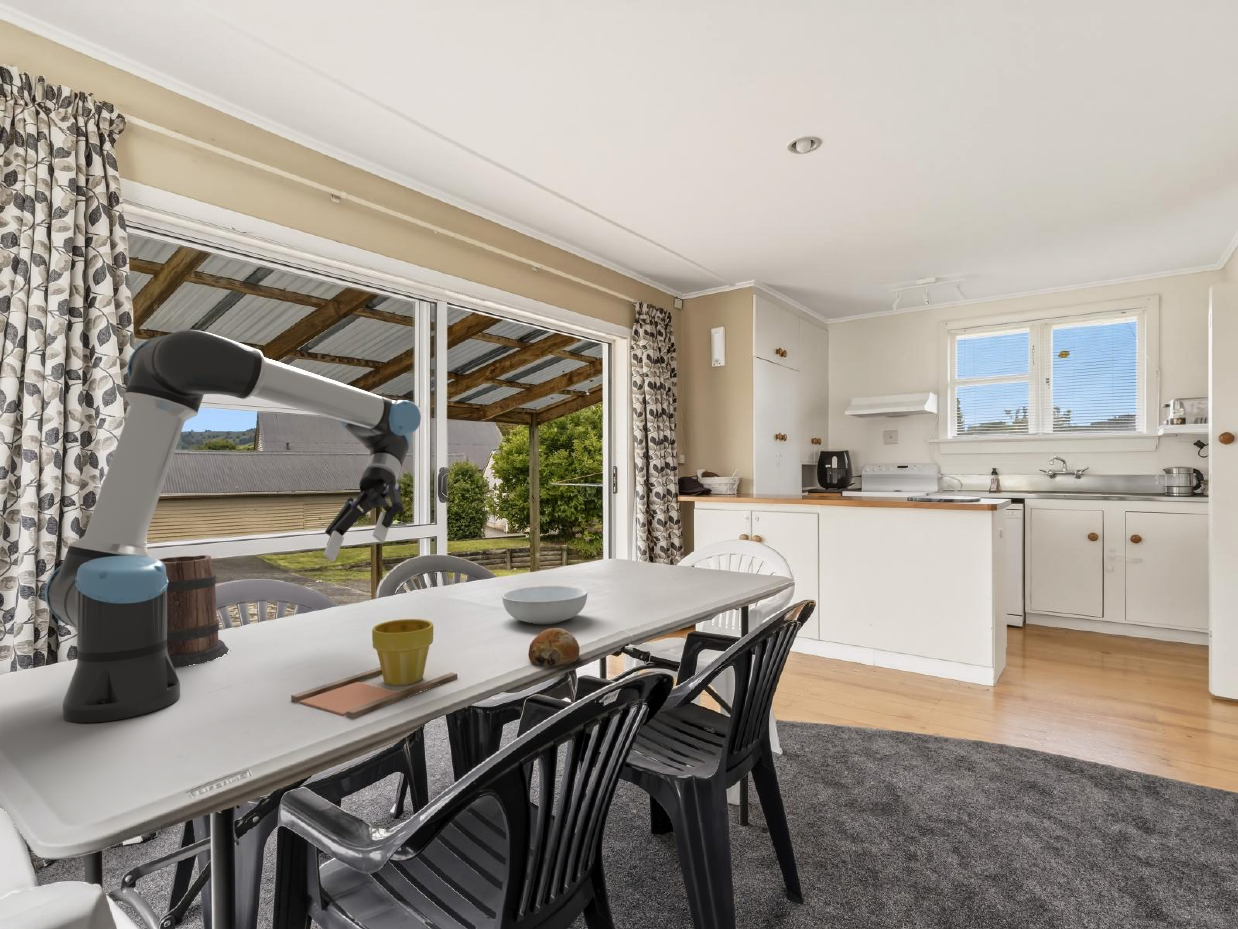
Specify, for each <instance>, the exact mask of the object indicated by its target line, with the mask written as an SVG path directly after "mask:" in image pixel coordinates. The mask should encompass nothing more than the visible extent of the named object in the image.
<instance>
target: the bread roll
mask: <svg viewBox="0 0 1238 929" xmlns="http://www.w3.org/2000/svg"><path fill="white" fill-rule="evenodd" d="M580 652H581V651H580V645H579V643H578V640H577V639H576V637H575V636H574V635H573V634H572V633H571V632H570V631H568V630H566V629H564V628H561V627H552V628H551V627H550V628H547V629H545V630H543V631H542V632H540V633H539V634H537V636H535V637H534V639H533V640H532V641H531V643H530V645H529V648H528V654H527V656H528V660H529V661H530V663H531V664H533V665H536V666H542V667H561V666H566V665H571V664H572V663H575V662H576V661H578V659H579V658H580Z"/></svg>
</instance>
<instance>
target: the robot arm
mask: <svg viewBox="0 0 1238 929" xmlns="http://www.w3.org/2000/svg"><path fill="white" fill-rule="evenodd" d="M126 370H127V376H128V378H129V380H128V383H127V385H126V389H125V391H124V394H123V396H124V398H125V399H126V401H127V402H128V404H129V406H130V408H129V411H128V413H127V417H126V419H125V422H124V425H123V427H122V430H121V432H120V436H119V438H118V441H117V444H116V447H115V449H114V453H113V455H112V457H111V461H110V463H109V467H108V469H107V472H106V474H105V477H104V480H103V482H102V485H101V488H100V491H99V494H98V497H97V500H96V503H95V505H94V508H93V511H92V514H91V516H90V519H89V522H88V525H87V527H86V530H85V533H84V535H83V536H82V537H80V538H79V539H76V540H75V541H73V542H71V543H69V545H68V548H67V550H66V554H65V556H64V559H63V561H62V564H61V565H60V566H59V567H57V568H56V569H55V570H54V572H53V573H52V574H51V575H50V577H49V578H48V580H47V583H46V586H45V589H44V597H45V598H44V599H45V603H46V605H47V607H48V608H49V611H50V612H51V613H52V614H53V615H54V616H55V617H56V619H57V620H59V621H60V622H62V623H63V624H65V625H67V626H70V627H73V628H76V651H77V652H76V654H77V658H76V659H77V661H76V662H77V663H76V667H75V669H74V672H73V675H72V677H71V680H70V683H69V685H68V688H67V691H66V694H65V696H64V699H63V700H62V701H63V702H62V718H63V719H64V720H65V721H68V722H73V723H101V722H103V723H104V722H111V721H117V720H123V719H130V718H134V717H137V716H142V715H145V714H149V713H152V712H156V711H159V710H162V709H163V708H166V707H168V706H171V705H172V704H174V703H175V702H176V701H178V700H179V699H180V697H181V683H180V679H179V677H178V675H177V672H176V670H175V669H176V668H174V667H173V664H172V662H171V660H170V657H169V655H168V652H167V586H168V578H167V576H166V567H165V565H164V564H163V563H162V562H161V561H160V560H159V559H157V558H155V557H151V556H149V554H148V553H147V551H146V550H145V549H144V543H145V541H146V538H147V534H148V532H149V528H150V526H151V522H152V519H153V517H154V514H155V510H156V507H157V504H158V503H159V502H158V501H159V499H160V496H161V492H162V490H163V488H164V484H165V481H166V478H167V477H168V476H167V475H168V472H169V469H170V467H171V464H172V460H173V457H174V454H175V451H176V449H177V445H178V443H179V440H180V436H181V434H182V431H183V428H184V424H185V423H186V421H187V420H190V419H192V418H195V417H196V416H198V413H199V409H200V407H201V404H202V401H203V398H204V395H222V396H223V395H224V396H229V397H235V398H238V399H241V400H246V399H248V398H250V397H255V398H258V399H262V400H265V401H269V402H273V403H275V404H280V405H283V406H288V407H291V408H293V409H296V410H297V409H298V410H301V411H304V412H305V411H306V412H309V413H312V414H315V415H316V414H317V415H319V416H322V417H327V418H330V419H333V420H337V421H338V422H339V423H340V424H341V425H342V427H343V428H345V429H346V430H347V431H348V432H349V433H350V434H351V435H352V436H353V437H355V439H356V440H358V441H359V442H360V444H362V445H363V446H364V447H365V448H366V449H367V450H369V452H370V456H369V458H368V461H367V463H366V466H365V467H364V471H363V473H362V475H361V478H360V480H359V485H358V486H359V490H360V493H359V494H358V496H357V498H354V499H353V498H352V497H349V498H347V500H346V502H345V504H344V506H343V507H342V508H341V510H340V511H339V513H338V514H337V515H336V516H335V517H334V518H333V520H332V521H331V523H330V524H329V525H328V527H327V528H326V529H325V530H324V532H325V533H326V535H328V536H329V538H328V541H327V544H326V547H325V549H324V552H323V554H322V556H324V557H325V558H326V559H328V560H329V561H330V562H332V563H333V562H336V559H337V557H338V554H339V552H340V549H341V547H342V545H343V542H344V539H345V536H344V535H345V534H346V533H347V532H348V530H350V529H351V528H352V526H353V525H355V523H356V522H357V521H358V520H359V519H360V518H361V517H364V516H366V514H367V513H368V512H369V511H370V510H373V509H376V508H378V507H379V506H381V508H382V510H383V511H380V513H379V516H378V519H377V521H376V524H375V527H374V530H373V533H372V537H373V538H374V539H376V540H377V541H378V542H379V543H380V544H382V543H383V544H384V542H385V540H386V538H387V534H388V532H389V529H390V527H391V525H392V523H393V520H394V518H395V517H396V516H397V514H398V513H402V512H404V510H405V508H404V503H403V499H402V496H401V489H402V486H401V485H400V484H399V483H398V482H397V481H398V478H399V475H400V471H401V469H402V467H403V463H404V462H405V458H406V456H407V453H408V452H409V450H410V442H411V434H413V433H414V432H416V431H417V430H418V428H419V426H420V424H421V420H422V418H421V417H422V415H421V411H420V409H419V406H417V404H415V403H414V402H412V401H410V400H407V399H406V400H403V399H397V400H394V399H392V398H391V399H390V398H387V397H385V396H381V395H377V394H375V393H372V392H369V391H366V390H363V389H360V388H358V387H354V386H351V385H348V384H344V383H342V382H339V381H337V380H333V379H330V378H327V377H323V376H321V375H318V374H315V373H312V372H309V371H306V370H304V369H301V368H298V367H294V366H291V365H288V364H285V363H282V362H279V361H276V360H273V359H269V358H267V357H264V354H263V352H262V351H261V350H259V349H257V348H255V347H251V346H248V345H245V344H243V343H240V342H237V341H235V340H232V339H228V338H226V337H223V336H219V335H216V334H213V333H210V332H206V331H201V330H197V329H195V330H194V329H184V330H178V331H174V332H172V333H170V334H167V335H162V336H156V337H153V338H151V339H150V338H149V339H148V340H146V341H144V342H142V344H141V345H139V346H137V348H136V349H135V350H134V351H133V352H132V353H131V355H130V357H129V359H128V362H127V368H126ZM388 498H389V499H390V503H391V504H390V503H389V502H388V501H387V499H388ZM359 507H360V508H361V509H362V510H361V509H359Z"/></svg>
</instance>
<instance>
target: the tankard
mask: <svg viewBox="0 0 1238 929" xmlns="http://www.w3.org/2000/svg"><path fill="white" fill-rule="evenodd" d="M158 560H160V561H161V562H162V563H163V564H164V565H165V567H166V576H167V578H168V586H167V652H168V655H169V657H170V660H171V662H172V664H173V667H174V669H179V668H178V667H180V668H187V667H190V666H189V665H193V664H198V665H201V664H206V663H208V662H207V661H210V662H214V661H215V660H214V659H216V658H218V657H222V656H223V655H224V654H227V652H228V650H229V649H230V648H229V647H227V645H226V644H225V641H224V640H223V641H222V640H221V639H219V630H220V620H219V619H218V616H217V615H218V613H217V611H218V610H217V594H216V593H217V592H216V584H217V575H216V573H215V571H214V566H213V562H212V556H211V555H207V554H205V555H196V556H194V555H193V556H189V555H188V556H187V555H185V556H174V557H164V558H160V559H158ZM228 648H229V649H228ZM227 655H228V654H227ZM222 658H223V657H222ZM213 660H214V661H213ZM205 662H206V663H205ZM186 666H187V667H186ZM193 666H194V665H193ZM176 667H177V668H176Z"/></svg>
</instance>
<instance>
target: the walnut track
mask: <svg viewBox="0 0 1238 929" xmlns="http://www.w3.org/2000/svg"><path fill="white" fill-rule="evenodd" d="M379 674H380V675H383V674H382V670H381V666H379V667H376V668H373V669H370V670H367V671H363V672H359V673H357V674H354V675H351V676H348V677H345V678H341V679H339V680H338V679H337V680H335V681H331V682H329V683H326V684H323V685H320V686H316V687H313V688H311V689H307V690H305V691H301V692H297V693H295V694H292V695H290V700H291V701H292V702H295V703H296V702H300V701H301V700H304V699H307V698H310V697H313V696H316V695H319V694H322V693H325V692H328V691H331V690H334V689H337V688H340V687H343V686H346V685H349V684H352V683H355V682H360V681H365V680H367V679H370V678H373V677H377V676H379ZM455 678H457V679H458V678H459V677H458V673H457V672H449V673H446V674H443V675H441V676H438V677H436V678H435V677H434V678H432V679H430V680H427V681H425V682H422V683H419V684H415V685H414V686H411V687H409V688H405V689H402V690H400V691H397V693H394V694H392V695H389V696H386V697H384V698H381V699H378V700H375V701H373V702H370V703H367V704H365V705H362V706H359V707H356V708H354V709H351V710H348V711H347V714H346V717H348V718H351V719H354V718H357V717H360V716H362V715H365V714H368V713H370V712H373V711H376V710H377V709H378V710H379V709H380V708H383V707H386V706H390V705H392V704H393V703H396V702H398V701H401V699H402V700H404V699H406V698H409V697H408V696H410V697H412V696H414V694H415V695H417V694H416V693H418V694H419V692H420V691H423V692H425V691H427V690H426V689H428V690H430V689H429V688H431V689H433V688H435V686H436V687H437V685H438V686H440V685H439V684H441V685H444V684H446V683H448V682H447V681H449V682H451V681H453V679H454V680H456V679H455ZM445 682H446V683H445ZM443 683H444V684H443ZM424 690H425V691H424ZM420 693H421V692H420ZM411 695H412V696H411ZM403 698H404V699H403Z"/></svg>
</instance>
